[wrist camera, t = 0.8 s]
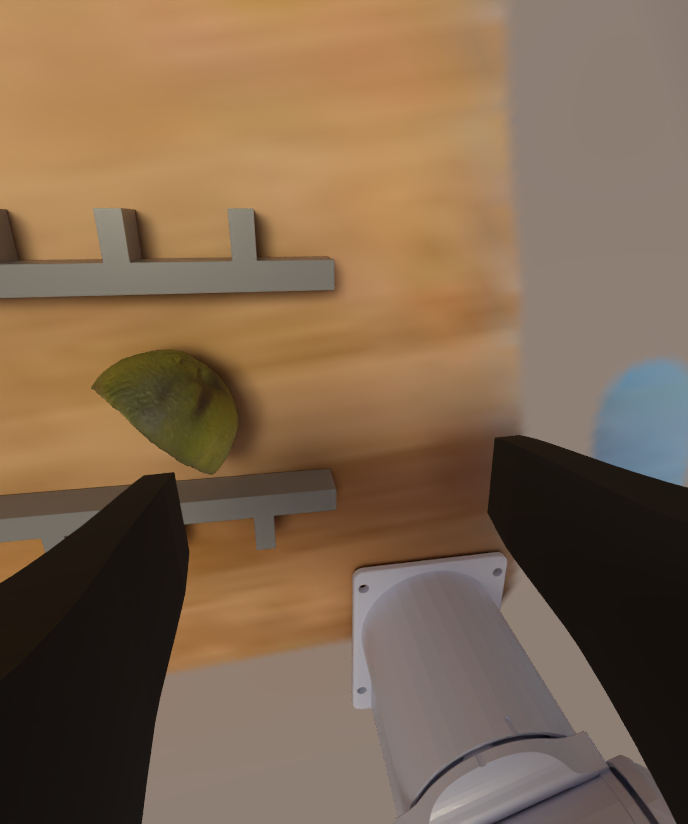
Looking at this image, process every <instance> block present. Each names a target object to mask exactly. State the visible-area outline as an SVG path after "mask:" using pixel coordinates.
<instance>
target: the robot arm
mask: <svg viewBox="0 0 688 824" xmlns="http://www.w3.org/2000/svg"><path fill="white" fill-rule="evenodd" d="M488 514H489V516H490V518H491V520H492V522H493V524H494V526H495V528H496V530H497V532H498V534H499V535H500V537H501V539H502V541H503V543H504V544H505V546H506V548H507V549H508V551H509V552H510V553H511V555H512V556H513V558H514V559H515V560H516V562H517V563H518V565H519V566H520V567H521V569H522V570H523V571H524V573H525V574H526V575H527V577H528V578H529V579H530V581H531V582H532V583H533V585H534V586H535V587H536V589H537V590H538V591H539V593H540V594H541V595H542V597H543V598H544V599H545V601H546V602H547V603H548V605H549V606H550V607H551V609H552V610H553V611H554V613H555V614H556V615H557V617H558V618H559V619H560V621H561V622H562V624H563V625H564V626H565V628H566V629H567V630H568V632H569V633H570V635H571V636H572V638H573V639H574V641H575V642H576V643H577V645H578V646H579V648H580V650H581V651H582V653H583V655H584V656H585V658H586V660H587V661H588V663H589V665H590V666H591V668H592V670H593V671H594V673H595V675H596V676H597V678H598V679H599V681H600V683H601V685H602V686H603V688H604V690H605V691H606V693H607V695H608V696H609V698H610V700H611V702H612V704H613V705H614V707H615V709H616V711H617V712H618V714H619V716H620V718H621V720H622V721H623V723H624V725H625V727H626V729H627V730H628V732H629V734H630V736H631V737H632V739H633V741H634V743H635V745H636V746H637V748H638V750H639V752H640V754H641V756H642V758H643V760H644V762H645V764H646V766H647V768H645V767H643V766H641V765H639V764H637V763H634V762H633V761H632V760H631V759H629V758H627V757H625V756H623V755H618V756H616V757H614V758H612V759H610V760H608V761H606V762H605V760H604V759H603V757H602V755H601V754H600V752H599V751H598V749H597V748H596V746H595V745H594V743H593V742H592V740H591V738H590V737H589V735H588V734H587V732H584V731H583V732H580V733H577V734H576V733H575V731H574V729H573V728H572V726H571V725H570V723H569V722H568V720H567V718H566V717H565V715H564V713H563V712H562V710H561V708H560V707H559V705H558V704H557V702H556V700H555V699H554V697H553V696H552V694H551V692H550V691H549V689H548V688H547V686H546V685H545V683H544V681H543V680H542V678H541V677H540V675H539V673H538V672H537V670H536V669H535V667H534V665H533V664H532V662H531V660H530V659H529V657H528V656H527V654H526V652H525V651H524V649H523V648H522V646H521V644H520V643H519V642H518V640H517V638H516V636H515V635H514V633H513V632H512V630H511V628H510V627H509V625H508V624H507V622H506V620H505V619H504V617H503V615H502V614H501V612H500V607H501V600H502V594H503V587H504V581H505V574H506V568H507V559H506V557H505V556H504V555H503V554H502V553H500V552H493V553H485V554H476V555H467V556H459V557H450V558H442V559H433V560H425V561H416V562H408V563H399V564H390V565H382V566H373V567H365V568H360V569H358V570H356V571H355V572H354V574H353V577H352V703H353V706H354V707H355V708H357V709H365V708H371V707H372V711H373V715H374V720H375V724H376V728H377V732H378V737H379V740H380V745H381V749H382V753H383V758H384V762H385V766H386V770H387V775H388V779H389V783H390V787H391V792H392V796H393V800H394V804H395V809H396V813H397V816H398V817H396V818H395V819H394V821H393V823H394V824H688V488H687V487H683V486H679V485H676V484H672V483H668V482H665V481H662V480H658V479H655V478H652V477H649V476H645V475H642V474H639V473H635V472H632V471H629V470H626V469H623V468H620V467H617V466H614V465H611V464H608V463H605V462H602V461H599V460H597V459H594V458H591V457H588V456H585V455H582V454H579V453H576V452H574V451H571V450H568V449H565V448H562V447H559V446H556V445H553V444H550V443H547V442H544V441H541V440H538V439H534V438H530V437H526V436H521V435H516V436H507V437H498V438H495V441H494V452H493V462H492V472H491V483H490V493H489V503H488ZM188 561H189V547H188V542H187V537H186V531H185V526H184V521H183V516H182V510H181V505H180V500H179V495H178V489H177V484H176V479H175V474H174V472H172V473H163V474H153V475H144V476H143V477H141V478H140V479H138V480H137V481H136V482H134V483H133V484H132V485H131V486H129V487H128V488H127V489H126V490H124V491H123V492H122V493H121V494H120V495H118V496H117V497H116V498H115V499H114V500H112V501H111V502H110V503H109V504H108V505H106V506H105V507H104V508H103V509H102V510H100V511H99V512H98V513H97V514H95V515H94V516H93V517H92V518H91V519H89V520H88V521H87V522H86V523H84V524H83V525H82V526H81V527H79V528H78V529H77V530H75V531H74V532H73V533H71V534H70V535H69V536H67V537H66V538H65V539H63V540H62V541H61V542H59V543H58V544H57V545H55V546H54V547H53V548H51V549H50V550H49V551H47V552H46V553H45V554H43V555H42V556H41V557H39V558H38V559H36V560H35V561H33V562H32V563H31V564H29V565H28V566H26V567H25V568H23V569H22V570H20V571H19V572H17V573H16V574H14V575H13V576H11V577H9V578H8V579H6V580H5V581H3V582H2V583H0V824H142V816H143V808H144V800H145V792H146V784H147V777H148V769H149V763H150V755H151V748H152V741H153V734H154V727H155V721H156V715H157V711H158V706H159V701H160V696H161V692H162V688H163V684H164V680H165V676H166V672H167V667H168V663H169V659H170V655H171V651H172V647H173V643H174V639H175V635H176V631H177V626H178V622H179V618H180V614H181V610H182V605H183V601H184V597H185V590H186V582H187V572H188ZM497 568H498V569H497ZM495 569H497V570H496V571H494V570H495ZM361 585H366V586H365V587H362V588H361V587H360V586H361Z"/></svg>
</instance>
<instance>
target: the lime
mask: <svg viewBox="0 0 688 824" xmlns="http://www.w3.org/2000/svg"><path fill="white" fill-rule="evenodd" d="M91 389H93V390H95V391H96V393H98V394H99V395H100V396H101V397H102V398H104V399H105V400H106V401H107V402H108V403H109V404H110V405H111V406H112V407H113V408H115V409H116V410H118V411H120V412H121V414H122V415H124V416H125V417H126V419H127V420H128V421H130V423H131V424H132V425H133V426H134V427H135V428H136V429H137V430H139V432H141V433H142V434H143V435H144V436H145V437H146V438H147V439H148V440H149V441H150V442H152V443H154V444H155V445H156V446H158V448H160V449H162V450H163V451H165V452H167V453H168V454H169V455H171V456H172V457H174V458H175V459H176V460H178V461H179V462H181V463H183V464H185V465H187V466H191V467H192V468H195V469H197V470H199V471H200V472H203V473H207V474H210V475H211V474H214V473H215V472H216V471H217V470H218V469H219V468H220V466H221V465H222V464H223V462H224V461H225V460H226V458H227V456H228V454H229V452H230V449H231V446H232V443H233V441H234V440H235V437H236V432H237V427H238V415H237V411H236V406H235V403H234V401H233V398H232V395H231V393H230V391H229V390H228V388H227V387H226V386H225V384H224V383H223V381H222V380H221V379H220V377H219V376H218V375H217V374H216V373H215V372H214V371H212V370H211V369H210V367H209V366H207V365H205V364H204V363H202V362H201V361H199V360H197V359H195V358H194V357H192V356H190V355H188V354H186V353H184V352H181V351H176V350H156V351H150V352H146V353H141V354H138V355H134V356H132V357H128V358H125V359H122V360H120V361H119V362H117V363H116V364H114V365H112V366H111V367H110V368H108V369H107V370H105V371H104V372H103V373H102V374H101V375H100V376H99V377H98V378H97V379H96V381H95V383H94V384H93V386H92V387H91Z"/></svg>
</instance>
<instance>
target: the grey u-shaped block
mask: <svg viewBox="0 0 688 824" xmlns="http://www.w3.org/2000/svg"><path fill="white" fill-rule="evenodd" d="M93 211H94V216H95V222H96V227H97V233H98V238H99V244H100V249H101V255H102V259H86V260H19V259H18V255H17V251H16V247H15V243H14V239H13V235H12V231H11V227H10V222H9V218H8V214H7V210H6V209H0V298H20V297H61V296H102V295H144V294H185V293H226V292H268V291H309V290H334V260H333V259H331V258H329V257H327V256H315V257H257V253H256V238H255V223H254V209H228V218H229V230H230V242H231V253H232V258H162V259H142V254H141V248H140V241H139V235H138V228H137V221H136V215H135V210H133V209H123V208H93ZM176 484H177V489H178V495H179V500H180V505H181V510H182V516H183V521H184V525H185V524H195V523H206V522H216V521H226V520H237V519H247V518H254V524H255V536H256V547H257V550H261V549H271V548H276V541H275V524H274V516H278V515H288V514H299V513H309V512H319V511H330V510H336V487H335V483H334V480H333V477H332V473H331V470H330V468H328V469H316V470H304V471H292V472H280V473H268V474H256V475H244V476H232V477H220V478H208V479H196V480H183V481H176ZM129 486H131V485H123V486H111V487H99V488H87V489H75V490H63V491H51V492H39V493H27V494H15V495H3V496H0V542H9V541H20V540H30V539H40V538H41V539H42V543H43V546H44V550H45V553H46V552H47V551H49V550H50V549H51V548H53V547H54V546H55V545H57V544H58V543H59V542H61V541H62V540H63V539H65V538H66V537H67V536H69V535H70V534H71V533H73V532H74V531H75V530H77V529H78V528H79V527H81V526H82V525H83V524H84V523H86V522H87V521H88V520H89V519H91V518H92V517H93V516H94V515H95V514H97V513H98V512H99V511H100V510H102V509H103V508H104V507H105V506H106V505H108V504H109V503H110V502H111V501H112V500H114V499H115V498H116V497H117V496H118V495H120V494H121V493H122V492H123V491H124V490H126V489H127V488H128V487H129Z"/></svg>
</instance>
